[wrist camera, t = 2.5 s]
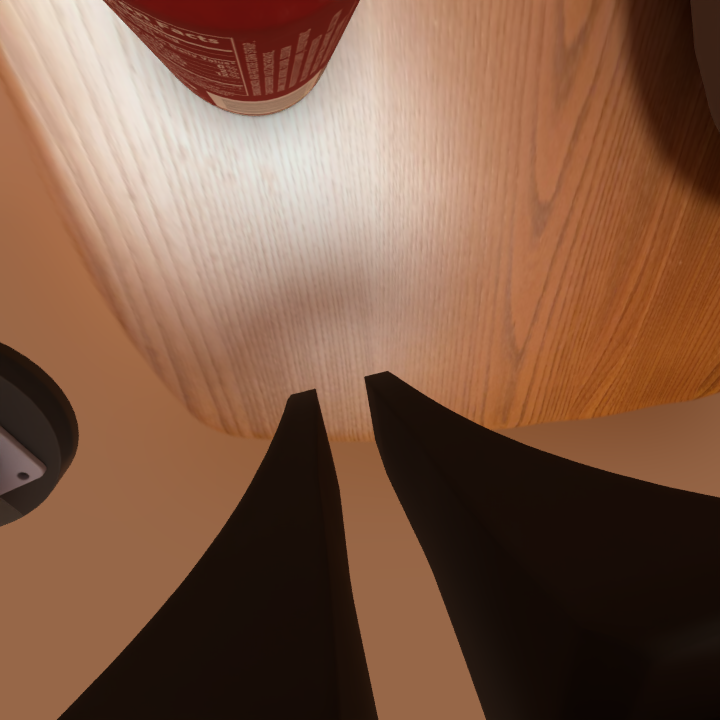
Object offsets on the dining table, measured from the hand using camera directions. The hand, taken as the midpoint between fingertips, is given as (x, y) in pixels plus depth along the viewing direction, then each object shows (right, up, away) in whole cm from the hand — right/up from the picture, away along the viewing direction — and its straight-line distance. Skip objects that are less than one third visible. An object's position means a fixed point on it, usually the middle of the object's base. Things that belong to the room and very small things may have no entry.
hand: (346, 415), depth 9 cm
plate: (+24, +23, +7) cm, 34 cm away
